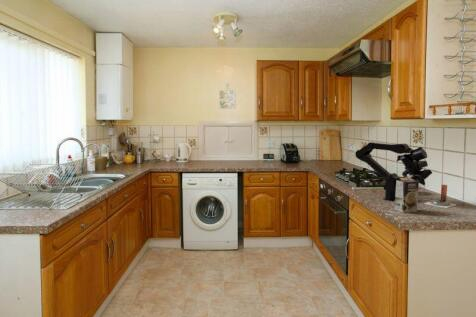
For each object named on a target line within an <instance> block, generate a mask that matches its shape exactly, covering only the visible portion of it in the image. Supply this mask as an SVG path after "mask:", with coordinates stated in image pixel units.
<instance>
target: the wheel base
mask: <svg viewBox="0 0 476 317" xmlns="http://www.w3.org/2000/svg"><path fill="white" fill-rule="evenodd" d="M423 204H424V205H427V206H433V207H438V208H442V209H447V208H452V207H455V206H457V204H456V203H451V205H437V204H433V203H430V201H427V202H424V203H423Z"/></svg>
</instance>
